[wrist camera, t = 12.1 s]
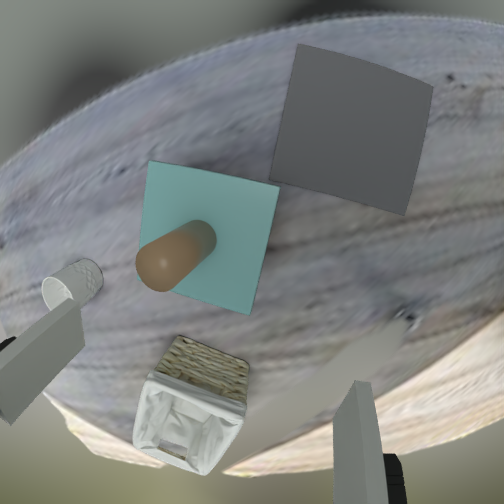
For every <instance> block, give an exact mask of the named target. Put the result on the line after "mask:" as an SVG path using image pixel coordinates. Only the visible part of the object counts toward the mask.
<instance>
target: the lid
mask: <svg viewBox="0 0 504 504" xmlns="http://www.w3.org/2000/svg"><path fill="white" fill-rule="evenodd" d="M280 188H281V186H277V185H273V184H268V183H264V182H260V181H255V180H251V179H246V178H242V177H237V176H233V175H228V174H223V173H218V172H213V171H208V170H203V169H198V168H193V167H188V166H182V165H177V164H171V163H165V162H160V161H149V166H148V172H147V179H146V187H145V195H144V203H143V212H142V222H141V232H140V244H139V252H138V254H137V256H136V270H137V273H138V274H137V280H139V281H142V282H143V283H144V284H145V285H146V286H148V287H149V288H151V289H152V290H155V291H159V292H166V291H172V292H175V293H178V294H181V295H184V296H187V297H190V298H193V299H196V300H200V301H203V302H206V303H209V304H212V305H216V306H219V307H222V308H226V309H229V310H232V311H236V312H239V313H242V314H246V315H249V316H250V314H251V312H252V308H253V304H254V299H255V295H256V291H257V287H258V283H259V279H260V274H261V270H262V266H263V262H264V257H265V253H266V249H267V245H268V240H269V236H270V232H271V228H272V223H273V219H274V215H275V210H276V206H277V202H278V197H279V193H280Z"/></svg>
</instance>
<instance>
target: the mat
mask: <svg viewBox="0 0 504 504" xmlns="http://www.w3.org/2000/svg"><path fill="white" fill-rule="evenodd" d="M432 92H433V86H431V85H428V84H426V83H424V82H422V81H419V80H417V79H414V78H412V77H409V76H407V75H404V74H402V73H399V72H396V71H394V70H391V69H388V68H385V67H382V66H380V65H377V64H374V63H370V62H367V61H364V60H361V59H358V58H354V57H351V56H347V55H344V54H340V53H336V52H332V51H328V50H324V49H320V48H316V47H311V46H307V45H302V44H298V47H297V51H296V56H295V60H294V65H293V70H292V74H291V79H290V84H289V88H288V93H287V98H286V102H285V107H284V112H283V116H282V121H281V126H280V130H279V135H278V140H277V144H276V149H275V153H274V158H273V163H272V167H271V172H270V177H269V180H272V181H277V182H281V183H285V184H290V185H294V186H298V187H302V188H306V189H310V190H314V191H318V192H322V193H326V194H330V195H333V196H337V197H341V198H344V199H348V200H352V201H355V202H359V203H362V204H366V205H369V206H373V207H376V208H379V209H383V210H386V211H389V212H393V213H396V214H399V215H402V216H404V215H405V212H406V209H407V205H408V202H409V198H410V195H411V191H412V187H413V184H414V180H415V176H416V172H417V168H418V164H419V159H420V155H421V151H422V146H423V142H424V137H425V132H426V127H427V122H428V116H429V110H430V104H431V98H432Z"/></svg>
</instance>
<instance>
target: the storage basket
mask: <svg viewBox="0 0 504 504" xmlns="http://www.w3.org/2000/svg"><path fill="white" fill-rule="evenodd" d="M183 340H184V341H183ZM248 372H249V365H248V364H247V363H246V362H245V361H243V360H240V359H238V358H234V357H232V356H230V355H227V354H224V353H221V352H220V351H218V350H215V349H212V348H210V347H207V346H205V345H203V344H200V343H197V342H195V341H194V340H192V339H189V338H185V337H182V336H177V338H176V339H175V340H174V342H173V343H172V345H171V346H170V347H169V348H168V350H167V352H166V353H165V354H164V355H163V357H162V359H161V360H160V363H158V365H157V367H156V368H155V369H154V370H150V372H149V374H148V377H147V380H146V381H145V383H144V385H143V389H142V392H141V395H140V399H139V403H138V408H137V413H136V418H135V423H134V429H133V445H134V447H135V448H136V449H138V450H140V451H142V452H144V453H146V454H148V455H150V456H153V457H155V458H157V459H159V460H162V461H164V462H166V463H169V464H171V465H174V466H177V467H179V468H182V469H184V470H187V471H191V472H194V473H197V474H200V475H207V474H208V473H209V472H210V471H211V470H212V469H213V468H214V466H215V465H216V464H217V463H218V461H219V460H220V459H221V457H222V456H223V454H224V453H225V452H226V450H227V449H228V447H229V446H230V444H231V443H232V441H233V440H234V438H235V437H236V436H237V434H238V432H239V431H240V429H241V427H242V425H243V423H244V418H245V414H246V412H247V403H246V400H247V396H246V395H247V389H248V387H247V386H248ZM161 439H163V440H166V441H169V442H172V443H175V444H178V445H181V446H184V447H186V448H187V449H188V452H187V454H186V457H183V456H180V455H179V454H175V453H173V452H171V451H168V450H166V449H163V448H160V447H159V443H160V440H161Z"/></svg>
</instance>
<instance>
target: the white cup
mask: <svg viewBox="0 0 504 504" xmlns="http://www.w3.org/2000/svg"><path fill="white" fill-rule="evenodd" d="M102 285H103V276H102V273H101V270H100V269H99V268H98V266H97V265H96V264H95V263H94V262H92V261H91V260H89V259H82V260H80V261H78V262H76V263H74V264H71V265H69V266H67V267H65V268H63V269H61V270H59V271H58V272H56V273H54V274H52V275H50V276H49V277H47V278H45V279H44V281H43V283H42V295H43V298H44V301H45V303H46V305H47V306H48V308H49V309H50V310H51V311H52V310H53V309H54V308H55V307H57V306H58V305H59V304H61V303H62V302H63V301H65V300H66V299H67V298H70V299H73V300H75V301H77V302H80V309H81V308H82V307H83V306H85V305H86V304H87V302H88V301H89V300H90V299H91V298H92V297H93V296H94V295H95V294H96V293H97V292H98V291H99V290H100V289H101V287H102Z"/></svg>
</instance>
